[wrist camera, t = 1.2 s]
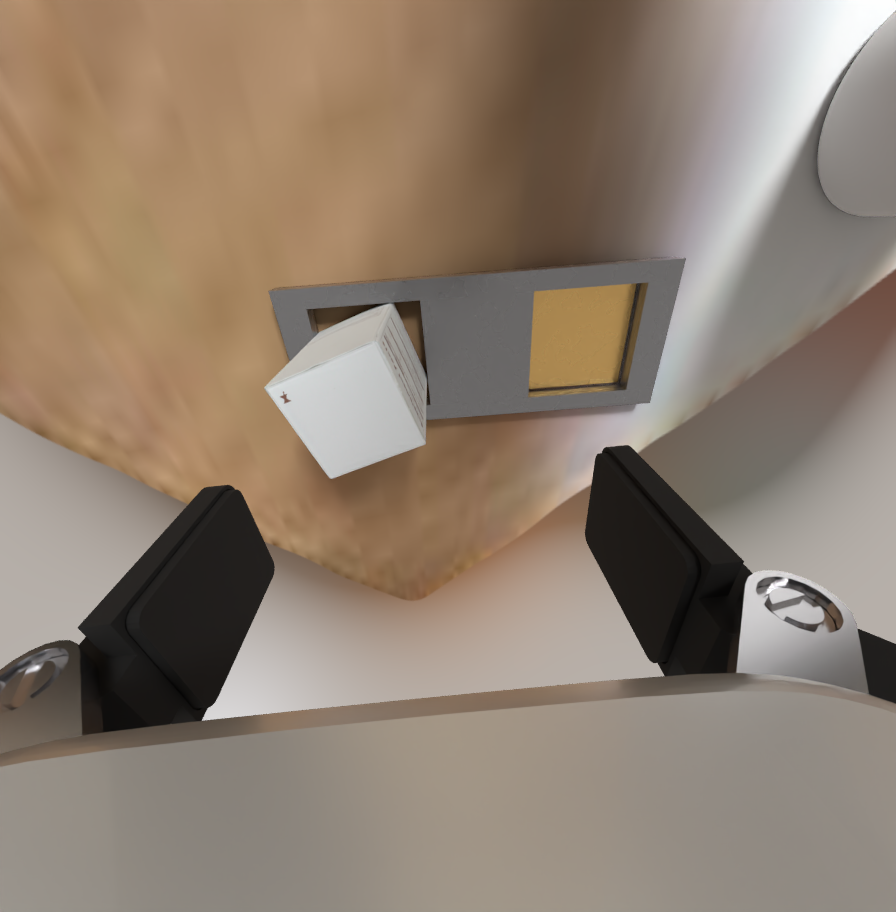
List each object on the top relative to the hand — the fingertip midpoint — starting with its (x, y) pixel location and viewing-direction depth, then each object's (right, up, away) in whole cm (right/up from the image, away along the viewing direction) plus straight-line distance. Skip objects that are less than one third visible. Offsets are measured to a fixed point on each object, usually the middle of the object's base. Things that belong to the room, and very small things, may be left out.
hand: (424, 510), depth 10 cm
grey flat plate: (+3, +11, +23) cm, 25 cm away
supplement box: (-6, +11, +23) cm, 26 cm away
